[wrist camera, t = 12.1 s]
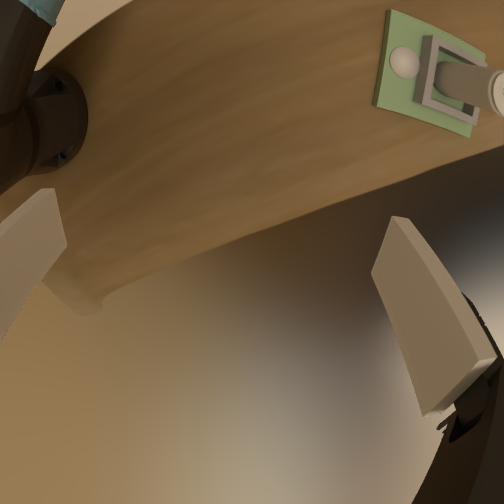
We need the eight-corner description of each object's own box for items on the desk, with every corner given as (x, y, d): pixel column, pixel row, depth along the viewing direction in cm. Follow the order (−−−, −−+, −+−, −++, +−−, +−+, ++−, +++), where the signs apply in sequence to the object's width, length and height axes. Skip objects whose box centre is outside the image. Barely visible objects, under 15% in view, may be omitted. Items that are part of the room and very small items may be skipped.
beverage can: (447, 54, 24) (510, 62, 15) (465, 84, 26) (528, 103, 16) (424, 73, 27) (485, 86, 17) (444, 104, 28) (504, 128, 19)
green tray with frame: (372, 104, 31) (384, 109, 28) (386, 10, 24) (400, 6, 20) (463, 135, 32) (479, 143, 28) (479, 53, 24) (496, 55, 21)
